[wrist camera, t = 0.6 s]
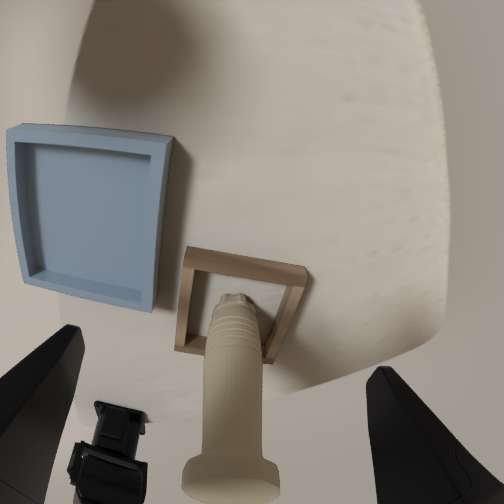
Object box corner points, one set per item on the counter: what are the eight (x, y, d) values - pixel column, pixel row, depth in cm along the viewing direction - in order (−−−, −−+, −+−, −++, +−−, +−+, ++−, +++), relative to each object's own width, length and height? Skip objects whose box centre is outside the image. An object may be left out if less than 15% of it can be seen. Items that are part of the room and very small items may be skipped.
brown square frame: (271, 351, 29) (272, 364, 27) (176, 338, 27) (174, 350, 26) (304, 266, 24) (308, 278, 22) (187, 245, 22) (184, 257, 21)
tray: (157, 296, 25) (152, 313, 23) (34, 269, 23) (23, 282, 22) (173, 136, 18) (166, 143, 17) (22, 123, 17) (6, 129, 15)
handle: (209, 335, 27) (196, 505, 14) (198, 275, 24) (169, 474, 11) (265, 333, 27) (278, 504, 14) (264, 272, 24) (282, 475, 11)
